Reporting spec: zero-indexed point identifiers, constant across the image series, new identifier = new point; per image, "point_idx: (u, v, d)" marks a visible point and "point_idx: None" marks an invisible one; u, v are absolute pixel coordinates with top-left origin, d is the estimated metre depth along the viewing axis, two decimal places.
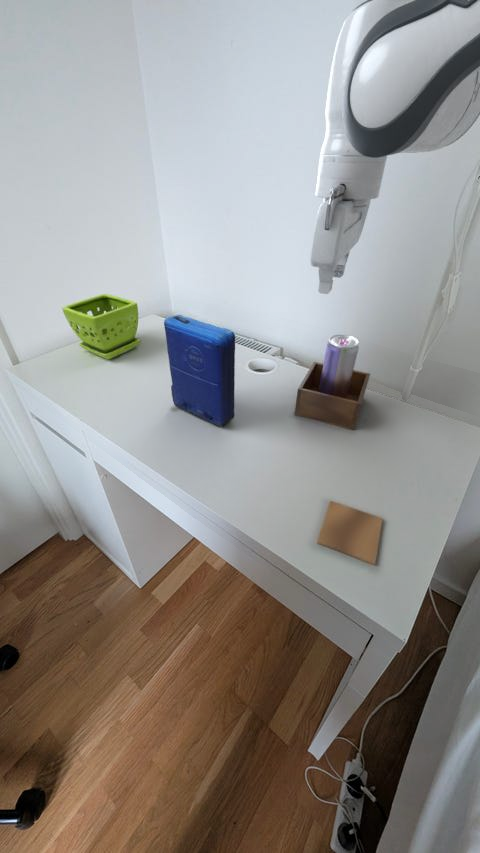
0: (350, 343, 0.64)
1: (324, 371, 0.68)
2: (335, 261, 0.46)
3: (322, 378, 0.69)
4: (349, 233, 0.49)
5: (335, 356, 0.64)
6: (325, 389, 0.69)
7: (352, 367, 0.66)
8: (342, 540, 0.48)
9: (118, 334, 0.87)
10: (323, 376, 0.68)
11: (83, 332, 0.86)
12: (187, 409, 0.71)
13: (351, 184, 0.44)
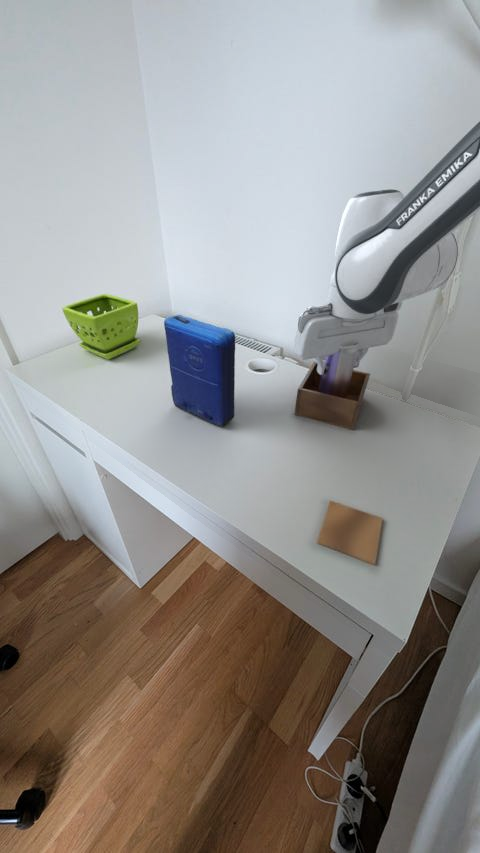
0: None
1: None
2: (303, 355, 0.61)
3: (322, 378, 0.69)
4: (340, 338, 0.61)
5: (335, 356, 0.64)
6: (325, 389, 0.69)
7: (352, 367, 0.66)
8: (342, 540, 0.48)
9: (118, 334, 0.87)
10: (323, 376, 0.68)
11: (83, 332, 0.86)
12: (187, 409, 0.71)
13: (335, 306, 0.58)
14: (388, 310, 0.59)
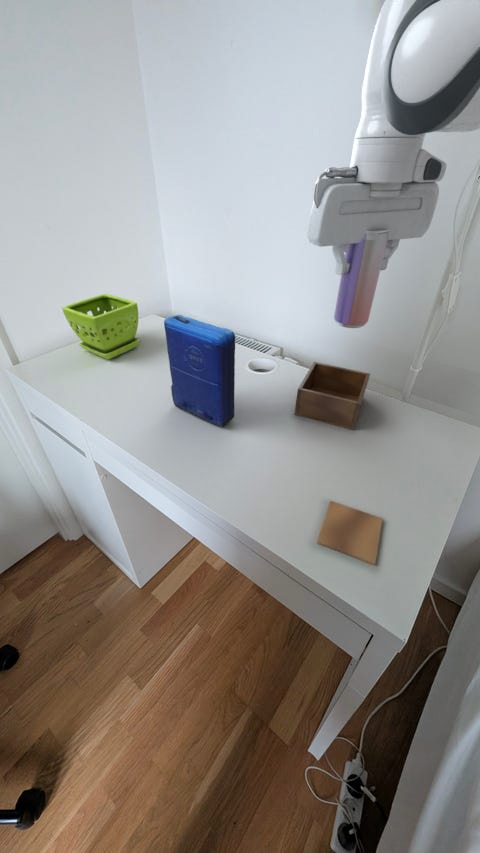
0: None
1: None
2: (320, 239, 0.48)
3: (341, 283, 0.56)
4: (367, 218, 0.49)
5: (359, 246, 0.51)
6: (345, 297, 0.57)
7: (379, 263, 0.53)
8: (342, 540, 0.48)
9: (118, 334, 0.87)
10: (343, 280, 0.56)
11: (83, 332, 0.86)
12: (187, 409, 0.71)
13: (362, 166, 0.45)
14: (428, 177, 0.47)
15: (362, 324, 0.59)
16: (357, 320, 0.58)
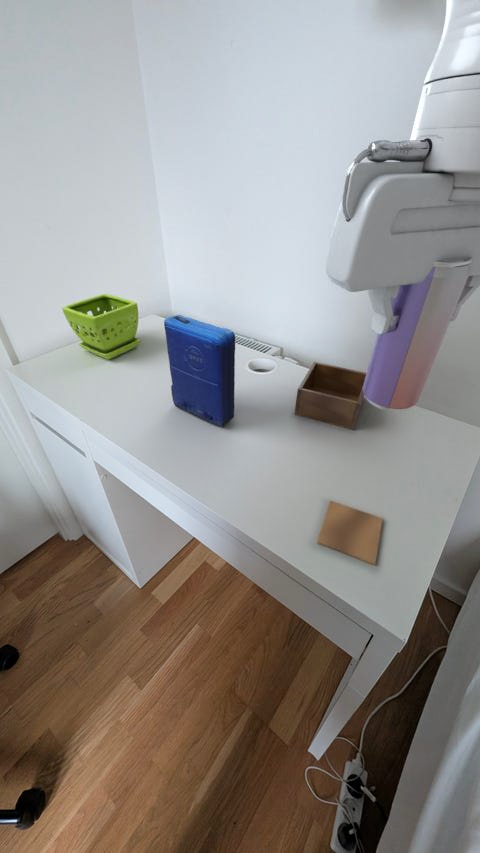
0: None
1: None
2: (353, 279, 0.26)
3: (379, 344, 0.34)
4: (439, 240, 0.26)
5: (418, 288, 0.28)
6: (385, 366, 0.34)
7: (451, 316, 0.30)
8: (342, 540, 0.48)
9: (118, 334, 0.87)
10: (382, 339, 0.33)
11: (83, 332, 0.86)
12: (187, 409, 0.71)
13: (442, 139, 0.22)
14: None
15: (410, 406, 0.36)
16: (403, 401, 0.35)
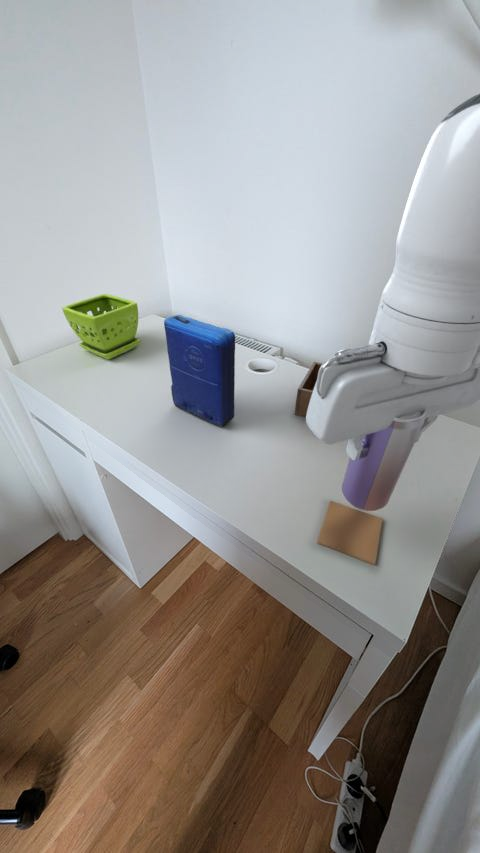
0: None
1: None
2: (326, 439, 0.32)
3: (354, 461, 0.40)
4: (396, 404, 0.32)
5: (382, 432, 0.35)
6: (359, 480, 0.40)
7: (411, 449, 0.36)
8: (342, 540, 0.48)
9: (118, 334, 0.87)
10: None
11: (83, 332, 0.86)
12: (187, 409, 0.71)
13: (394, 348, 0.28)
14: None
15: (381, 507, 0.42)
16: (375, 505, 0.41)
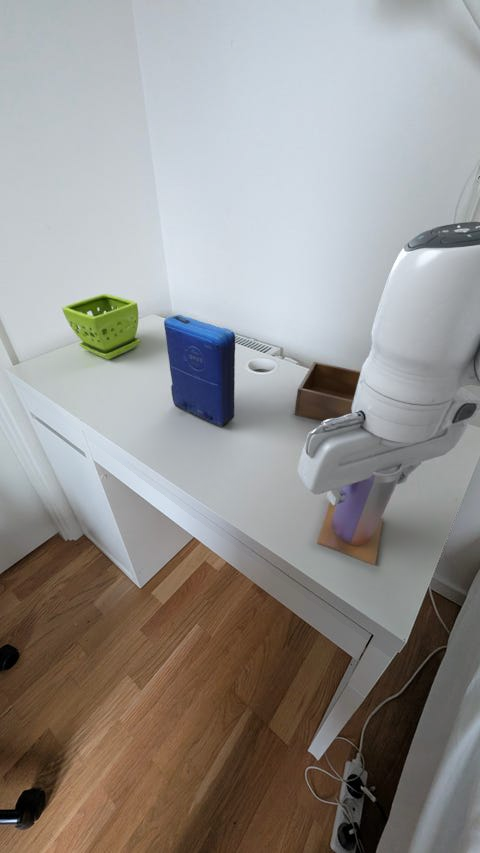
0: None
1: None
2: (314, 491, 0.36)
3: (341, 503, 0.45)
4: (376, 460, 0.37)
5: (364, 483, 0.40)
6: (345, 519, 0.45)
7: (390, 495, 0.41)
8: None
9: (118, 334, 0.87)
10: None
11: (83, 332, 0.86)
12: (187, 409, 0.71)
13: (371, 418, 0.33)
14: (459, 419, 0.35)
15: (366, 542, 0.47)
16: (360, 541, 0.46)
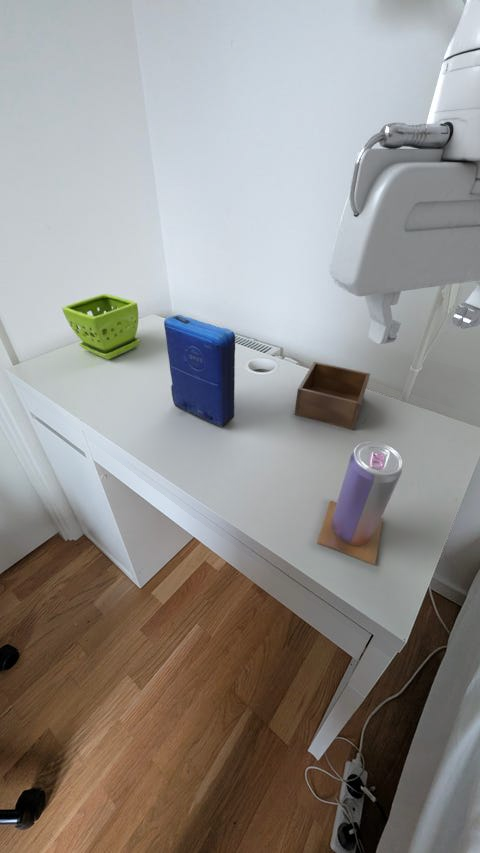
0: (389, 463, 0.39)
1: (345, 496, 0.43)
2: (361, 282, 0.23)
3: (341, 503, 0.45)
4: (457, 238, 0.23)
5: (364, 483, 0.40)
6: (345, 519, 0.45)
7: (390, 495, 0.41)
8: None
9: (118, 334, 0.87)
10: (343, 501, 0.44)
11: (83, 332, 0.86)
12: (187, 409, 0.71)
13: (466, 122, 0.19)
14: None
15: (366, 542, 0.47)
16: (360, 541, 0.46)
